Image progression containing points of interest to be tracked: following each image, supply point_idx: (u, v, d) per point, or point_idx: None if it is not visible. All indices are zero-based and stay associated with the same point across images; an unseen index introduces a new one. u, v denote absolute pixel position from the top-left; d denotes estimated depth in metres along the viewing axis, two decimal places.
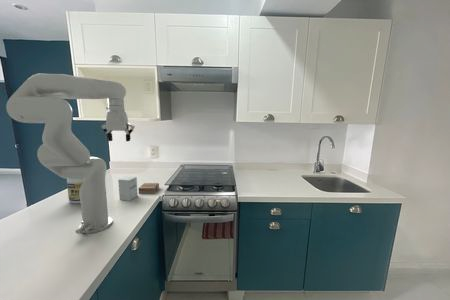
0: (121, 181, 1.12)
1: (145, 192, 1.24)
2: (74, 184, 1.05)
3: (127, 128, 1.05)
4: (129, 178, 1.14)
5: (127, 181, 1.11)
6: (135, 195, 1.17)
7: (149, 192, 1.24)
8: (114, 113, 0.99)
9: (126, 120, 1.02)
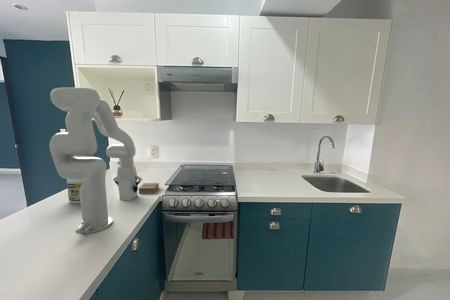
0: (121, 181, 1.12)
1: (145, 192, 1.24)
2: (74, 184, 1.05)
3: (135, 180, 1.16)
4: None
5: (127, 181, 1.11)
6: (135, 195, 1.17)
7: (149, 192, 1.24)
8: (124, 168, 1.11)
9: (135, 173, 1.14)
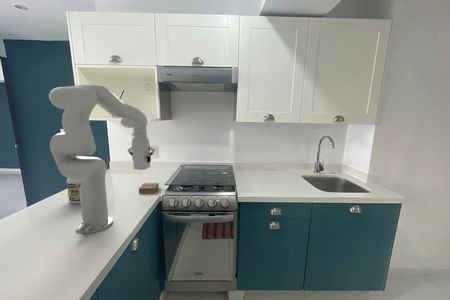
0: (135, 151, 1.17)
1: (145, 192, 1.24)
2: (74, 184, 1.05)
3: None
4: None
5: (141, 151, 1.17)
6: (148, 166, 1.23)
7: (150, 192, 1.24)
8: (138, 139, 1.17)
9: (148, 144, 1.20)
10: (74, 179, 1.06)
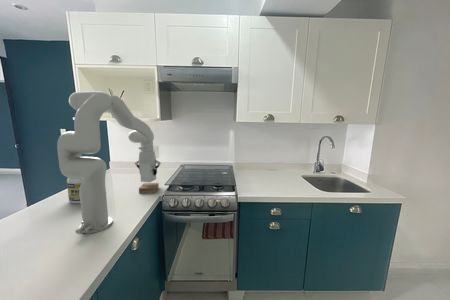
0: (142, 164, 1.22)
1: (145, 192, 1.24)
2: (74, 184, 1.05)
3: (154, 164, 1.27)
4: None
5: (148, 164, 1.22)
6: (154, 178, 1.28)
7: (150, 192, 1.24)
8: (145, 153, 1.22)
9: (154, 157, 1.25)
10: (74, 179, 1.06)
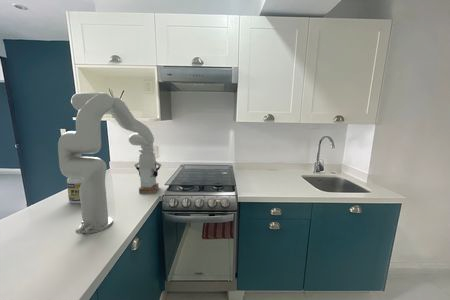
0: (142, 170, 1.23)
1: (146, 192, 1.23)
2: (74, 184, 1.05)
3: (155, 166, 1.27)
4: None
5: (148, 170, 1.22)
6: (154, 183, 1.29)
7: (150, 192, 1.24)
8: (146, 155, 1.22)
9: (155, 160, 1.25)
10: (74, 179, 1.06)
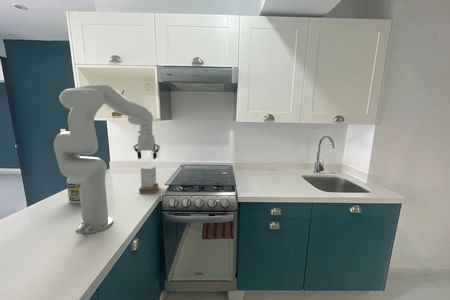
0: (143, 170, 1.23)
1: (146, 192, 1.23)
2: (74, 184, 1.05)
3: (154, 148, 1.25)
4: (150, 167, 1.26)
5: (149, 170, 1.23)
6: (154, 182, 1.30)
7: (150, 192, 1.24)
8: (144, 136, 1.20)
9: (154, 141, 1.23)
10: (74, 179, 1.06)
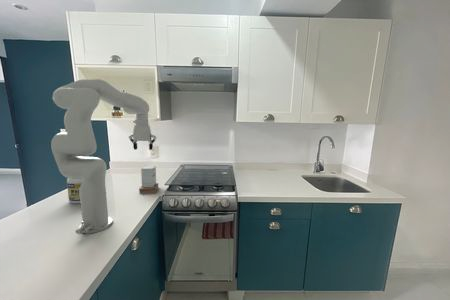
0: (144, 170, 1.23)
1: (146, 192, 1.23)
2: (74, 184, 1.05)
3: (150, 138, 1.23)
4: (150, 167, 1.26)
5: (150, 169, 1.23)
6: (155, 183, 1.30)
7: (150, 192, 1.24)
8: (140, 126, 1.18)
9: (149, 132, 1.20)
10: (74, 179, 1.06)
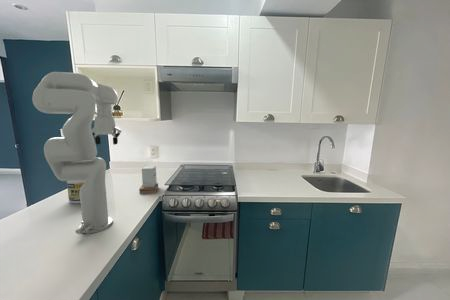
0: (145, 170, 1.23)
1: (146, 192, 1.23)
2: (74, 184, 1.05)
3: (114, 132, 1.10)
4: (151, 167, 1.27)
5: (151, 169, 1.24)
6: (155, 182, 1.30)
7: (150, 192, 1.24)
8: (102, 118, 1.05)
9: (113, 124, 1.08)
10: None
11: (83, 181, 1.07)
